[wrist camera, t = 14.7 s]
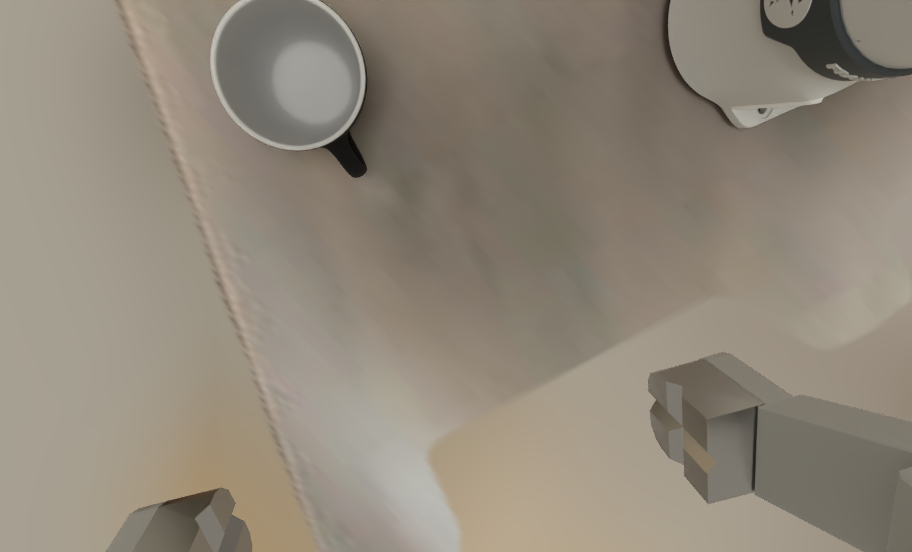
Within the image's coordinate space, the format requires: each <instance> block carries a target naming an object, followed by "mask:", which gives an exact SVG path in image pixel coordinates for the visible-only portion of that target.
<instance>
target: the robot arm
mask: <svg viewBox="0 0 912 552" xmlns="http://www.w3.org/2000/svg"><path fill="white" fill-rule="evenodd" d="M668 35H669V43H670V48H671V52H672V56H673V59H674V62H675V64H676V66H677V68H678V70H679V72H680V74H681V75H682V77H683V78H684V80H685V81H686V82H687V84H688V85H689V86H690V87H691V88H692V89H693V90H695V91H696V92H697V93H698V94H700V95H701V96H703V97H705V98H707V99H709V100H711V101H713V102H715V103H716V104H718V105H719V106H720V107H721V108H722V109H723V111H724V113H725V114H726V116H727V117H728V119H729V120H730V121H731V122H732V123H733V125H735V126H736V127H738V128H750V127H754V126H756V125H759V124H761V123H763V122H765V121H767V120H770V119H772V118H774V117H776V116H779V115H781V114H783V113H785V112H788V111H790V110H792V109H794V108H797V107H799V106H802V105H812V104H817V103H820V102H822V100H823V98H824V97H826V96H829V95H831V94H834V93H836V92H838V91H840V90H842V89H844V88H846V87H848V86H850V85H852V84H854V83H856V82H858V81H876V80H886V79H887V78H893V77H898V76H905V75H910V74H912V0H671V1H670V7H669V16H668ZM758 108H761V109H760V111H759V112H758ZM648 388H649V389H648V390H649V392H650V394H651V395H652V396H653V397H654V398H655V399H656V401H655V403H654V404H653V406H652V408H651V409H650V418H651V426H652V428H653V431H654V434H655V437H656V440H657V441H658V443H659V445H660V446H661V448H662V449H663V451H664V452H665V453H666V455H667V456H668V457H669V458H670V459H672V460H674V461H677V462H679V463H681V464H683V465H684V476H685V477H686V478H687V480H688V481H689V482H690V483H691V484H692V486H693V487H694V488H695V489H696V490H697V491H698V493H699V494H700V495H701V496H702V497H703V499H704V500H706V502H707V503H708V504H711V503H714V502H718V501H722V500H726V499H729V498H733V497H737V496H741V495H745V494H749V493H753V492H755V495H756V496H758V497H760V498H762V499H764V500H766V501H768V502H770V503H771V504H773V505H776V506H777V507H779V508H781V509H783V510H785V511H787V512H789V513H791V514H793V515H795V516H796V517H798V518H800V519H803V520H804V521H806V522H808V523H810V524H812V525H814V526H816V527H818V528H819V529H821V530H823V531H825V532H827V533H829V534H831V535H833V536H835V537H837V538H838V539H841V540H842V541H844V542H846V543H848V544H850V545H852V546H854V547H856V548H858V549H860V550H861V551H863V552H912V422H910V421H905V420H901V419H897V418H894V417H889V416H885V415H882V414H877V413H874V412H869V411H866V410H862V409H858V408H854V407H850V406H845V405H841V404H838V403H834V402H830V401H826V400H822V399H818V398H813V397H809V396H805V395H798V396H795V397H793V396H792V395H791V394H789V393H788V392H786V391H785V390H783V389H781V388H780V387H779V386H777V385H776V384H774V383H773V382H771V381H770V380H769V379H767V378H766V377H764V376H762V375H761V374H760V373H758V372H757V371H755V370H754V369H752V368H751V367H749V366H748V365H746V364H745V363H744V362H742V361H741V360H739V359H738V358H736V357H735V356H733V355H732V354H729V353H725V352H721V353H718V354H714V355H711V356H708V357H704V358H701V359H699V360H697V361H694V362H690V363H686V364H682V365H679V366H675V367H671V368H668V369H664V370H660V371H657V372H653V373H650V376H649V379H648ZM235 504H236V503H235V501H234V499H233V497H232V496H231V494H230V492H229V490H227V489H224V488H218V489H214V490H210V491H206V492H201V493H197V494H193V495H189V496H185V497H181V498H177V499H173V500H169V501H166V502H162V503H158V504H154V505H150V506H146V507H143V508H138V509H137V510H135V511H134V512H132V513H131V514H130V515H129V516H128V518H127V519H126V521H125V522H124V524H123V526H122V527H121V529H120V530H119V532H118V533H117V535H116V537H115V538H114V539H113V541H112V543H111V544H110V546H109V547H108V549H107V550H106V552H252V542H251V537H250V532H249V530H248V528H247V526H246V524H245V522H244V521H243V520H241V519H239V518H237V517H235V516H233V515H232V512H233V509H234V507H235Z"/></svg>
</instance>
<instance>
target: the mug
mask: <svg viewBox="0 0 912 552" xmlns="http://www.w3.org/2000/svg"><path fill="white" fill-rule="evenodd" d="M210 69H211V76H212V81H213V84H214V87H215V90H216V93H217V95H218V98H219V99H220V101H221V103H222V105H223V107H224V108H225V110H226V111H227V113H228V114H229V115H230V117H231V118H232V119H233V120H234V121H235V122H236V124H237V125H238V126H240V127H241V128H242V129H243V130H244V131H245V132H247V133H248V134H249V135H251V136H252V137H254V138H255V139H257V140H259V141H261V142H262V143H265V144H267V145H269V146H272V147H275V148H279V149H283V150H290V151H307V150H313V149H317V148H326V149H328V150H329V151H330V152H331V153H332V154H333V155H334V156H335V157H336V158H337V160H338V161H339V162H340V164H341V165H342V166H343V168H344V169H345V170H346V171H347V172H348V173H349V174H350V175H351V176H352V177H354V178H357V177H361V176H362V175H364V174H365V173H366V171H367V167H366V164H365V161H364V159H363V157H362V155H361V153H360V151H359V150H358V148H357V146H356V144H355V142H354V141H353V139H352V137H351V134H350V131H349V130H350V128H351V127H352V126H353V124H354V123H355V121H356V120H357V118H358V116H359V114H360V112H361V110H362V108H363V105H364V101H365V98H366V92H367V71H366V65H365V60H364V57H363V53H362V51H361V48H360V46H359V43H358V41H357V39H356V37H355V36H354V34H353V32H352V31H351V29H350V28H349V27H348V25H347V24H346V23H345V21H344V20H343V19H342V18H341V17H340V16H339V15H338V14H337V13H336V12H335V11H334V10H333V9H332V8H330V7H329V6H328V5H326V4H325V3H323V2H322V1H320V0H239V1H238V2H236V3H235V4H234V5H233V6H232V7H231V8H230V9H229V10H228V11H227V12H226V13H225V15H224V16H223V17H222V19H221V20H220V22H219V24H218V26H217V28H216V31H215V33H214V36H213V40H212V44H211V49H210Z"/></svg>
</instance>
